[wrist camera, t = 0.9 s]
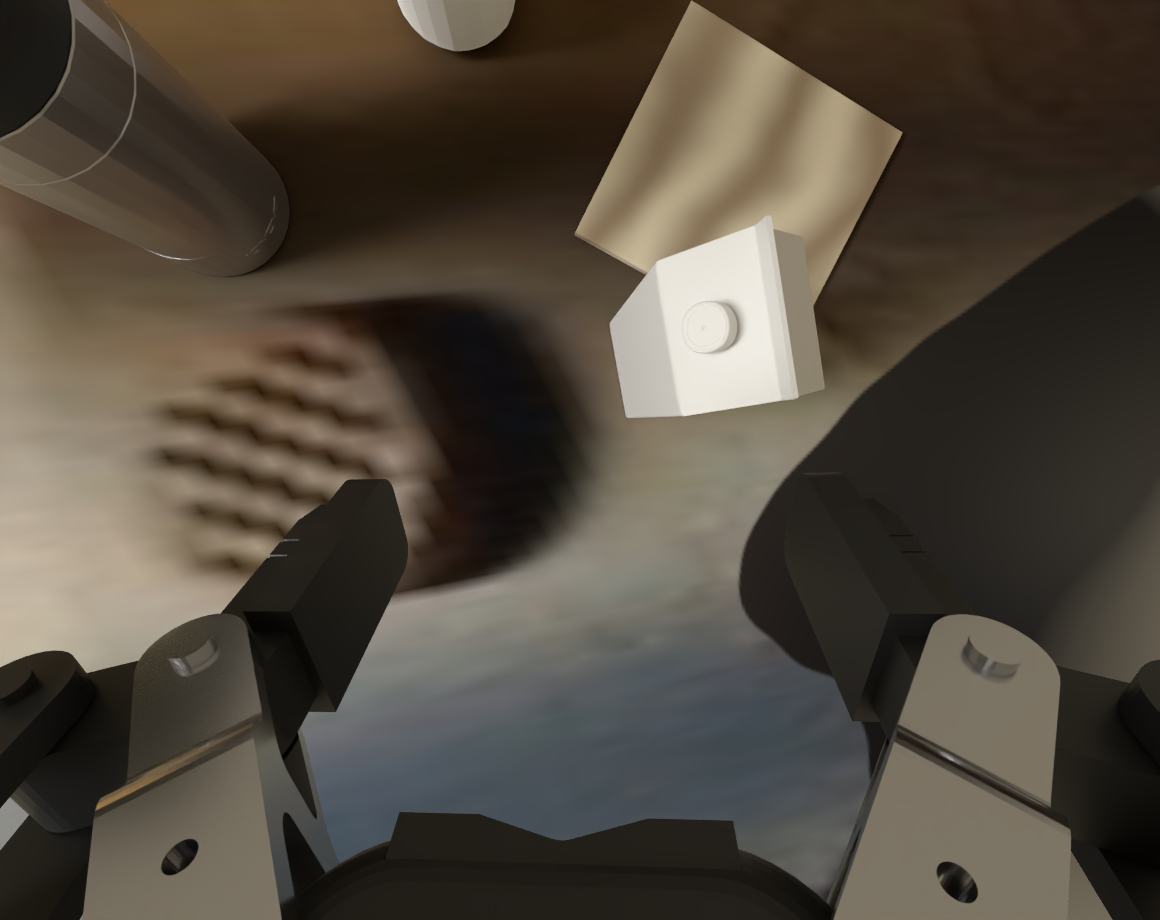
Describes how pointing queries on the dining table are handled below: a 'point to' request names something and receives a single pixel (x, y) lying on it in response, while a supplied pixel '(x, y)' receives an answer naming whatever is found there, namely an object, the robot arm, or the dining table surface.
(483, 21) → the cup
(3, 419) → the dining table surface
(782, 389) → the milk carton
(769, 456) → the dining table surface
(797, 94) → the birch board
